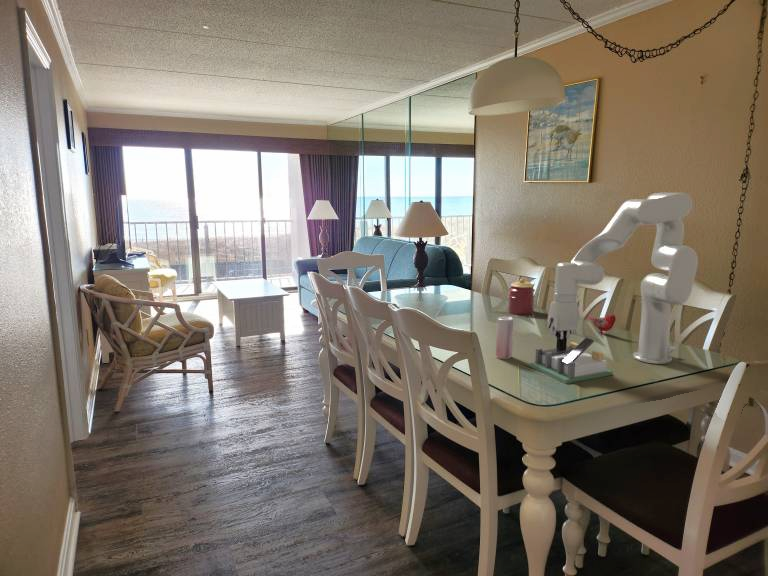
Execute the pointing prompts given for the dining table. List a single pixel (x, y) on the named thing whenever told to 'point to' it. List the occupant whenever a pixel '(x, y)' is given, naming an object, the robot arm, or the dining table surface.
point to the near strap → (577, 351)
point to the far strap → (557, 350)
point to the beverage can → (504, 337)
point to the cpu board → (571, 365)
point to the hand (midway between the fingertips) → (561, 348)
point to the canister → (521, 298)
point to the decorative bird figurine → (604, 323)
